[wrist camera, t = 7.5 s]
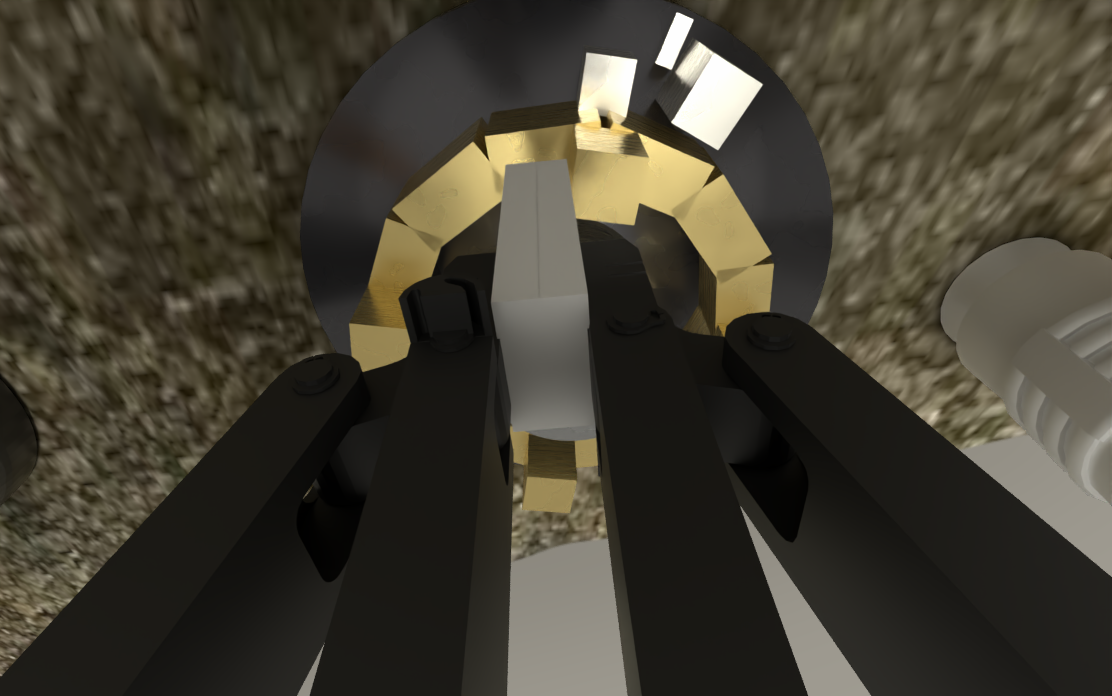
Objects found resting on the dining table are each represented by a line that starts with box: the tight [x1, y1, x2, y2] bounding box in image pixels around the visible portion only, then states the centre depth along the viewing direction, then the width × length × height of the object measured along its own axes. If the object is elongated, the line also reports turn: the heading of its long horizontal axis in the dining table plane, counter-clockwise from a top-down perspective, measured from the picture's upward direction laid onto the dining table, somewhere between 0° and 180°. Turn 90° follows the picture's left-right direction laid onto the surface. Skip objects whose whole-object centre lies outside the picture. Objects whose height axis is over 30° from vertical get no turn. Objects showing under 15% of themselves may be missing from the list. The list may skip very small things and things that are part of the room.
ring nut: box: [349, 45, 774, 513], centre depth 23 cm, size 15×15×6 cm
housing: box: [300, 0, 833, 465], centre depth 23 cm, size 22×22×8 cm
